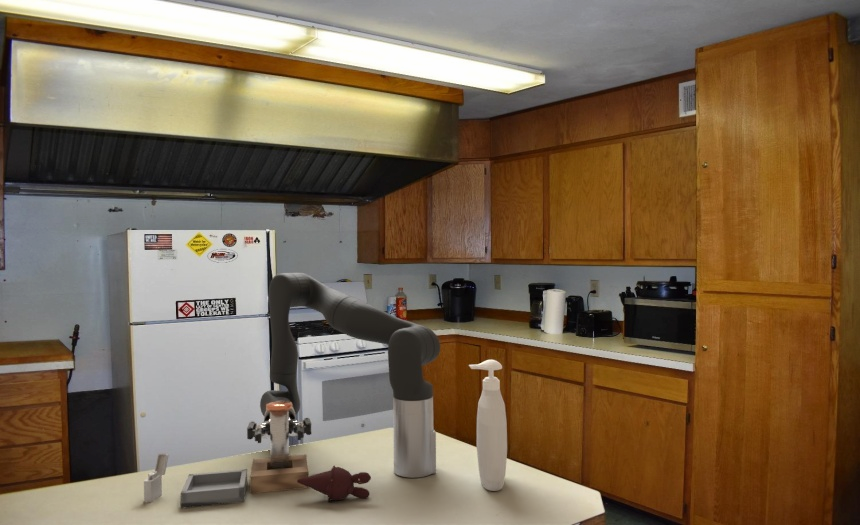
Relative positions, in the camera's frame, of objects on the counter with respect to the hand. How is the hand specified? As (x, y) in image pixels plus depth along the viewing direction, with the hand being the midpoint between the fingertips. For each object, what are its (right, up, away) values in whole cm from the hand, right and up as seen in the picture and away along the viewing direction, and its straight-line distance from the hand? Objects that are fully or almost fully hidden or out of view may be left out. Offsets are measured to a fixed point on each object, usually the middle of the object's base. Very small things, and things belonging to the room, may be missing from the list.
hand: (279, 437), depth 133 cm
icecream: (+14, -10, -10) cm, 20 cm away
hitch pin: (0, -10, +1) cm, 10 cm away
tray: (-12, -10, -7) cm, 17 cm away
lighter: (-24, -11, -7) cm, 27 cm away
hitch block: (0, -10, +1) cm, 10 cm away
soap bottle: (+46, -10, -2) cm, 47 cm away
